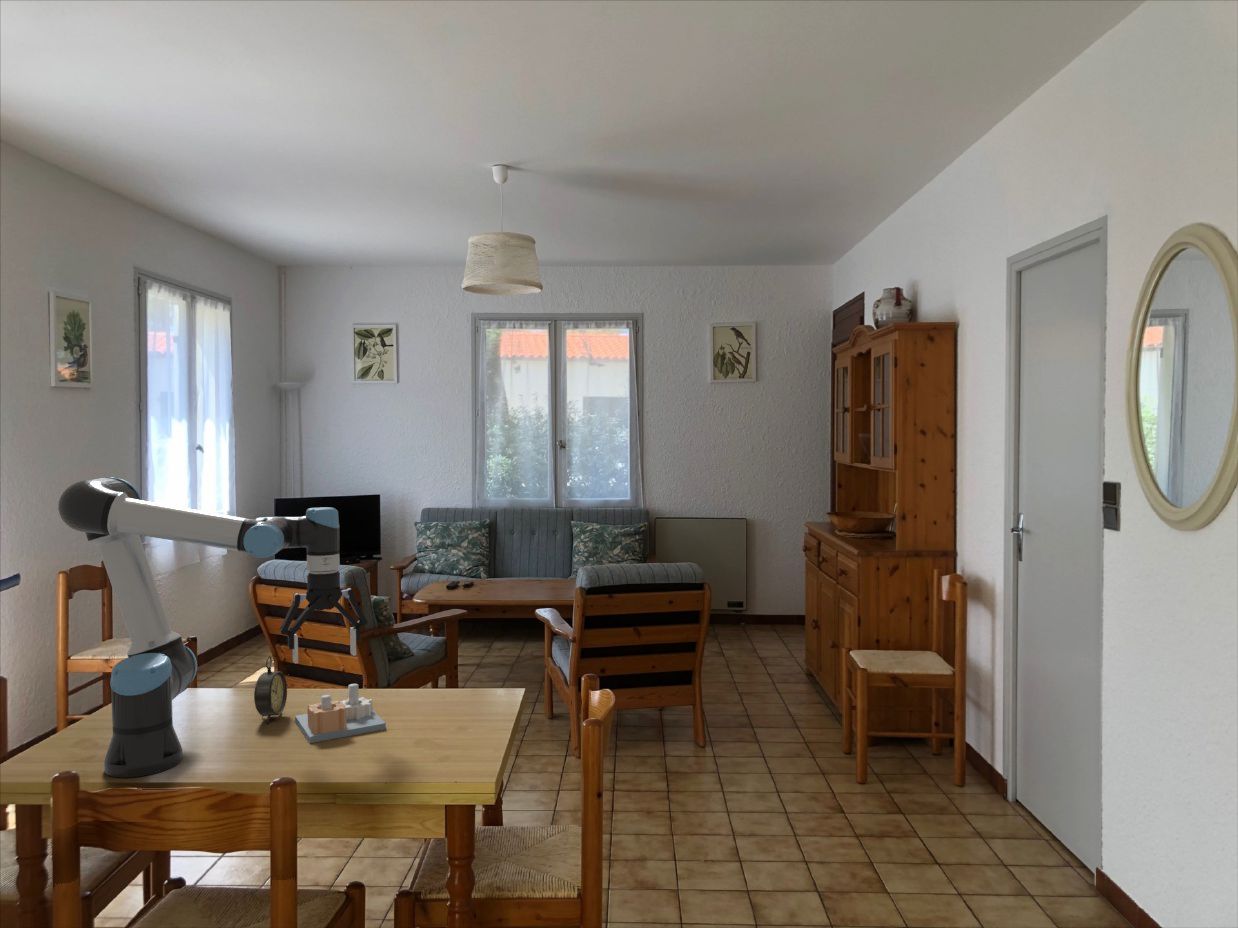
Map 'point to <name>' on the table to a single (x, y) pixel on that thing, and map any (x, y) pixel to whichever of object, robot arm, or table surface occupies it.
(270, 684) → the alarm clock
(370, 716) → the gear board
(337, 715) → the loose gear
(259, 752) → the table surface
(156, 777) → the table surface
